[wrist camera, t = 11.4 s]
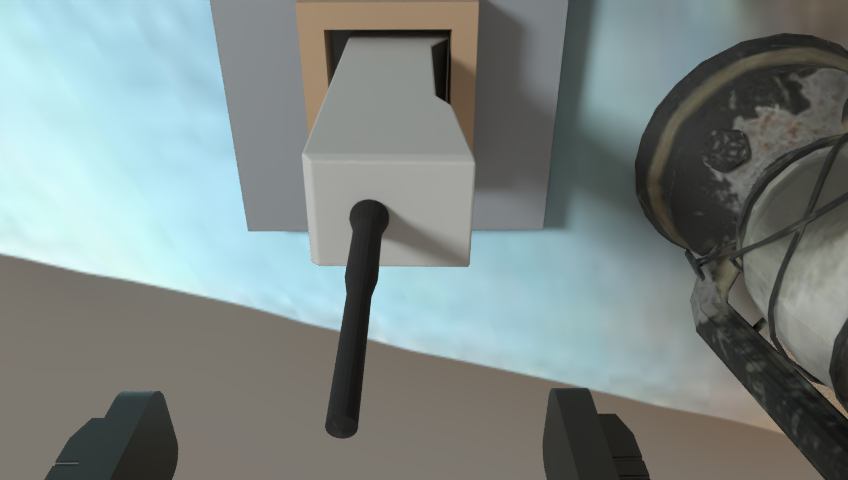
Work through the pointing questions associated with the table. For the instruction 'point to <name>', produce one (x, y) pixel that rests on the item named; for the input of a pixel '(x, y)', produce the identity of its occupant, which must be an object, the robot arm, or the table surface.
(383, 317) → the table surface
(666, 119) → the lantern
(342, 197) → the vintage mobile phone
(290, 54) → the square socket base
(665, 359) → the table surface
